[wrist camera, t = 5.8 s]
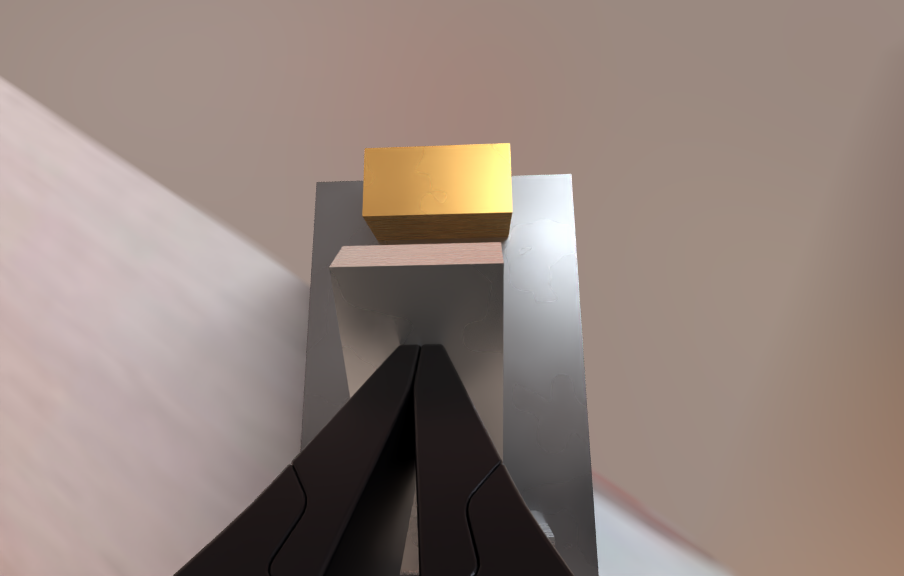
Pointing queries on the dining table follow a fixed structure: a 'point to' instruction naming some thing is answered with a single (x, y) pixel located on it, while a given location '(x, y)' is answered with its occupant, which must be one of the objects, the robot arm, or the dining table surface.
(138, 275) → the dining table surface
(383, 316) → the light grey flat bar
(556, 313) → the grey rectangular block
